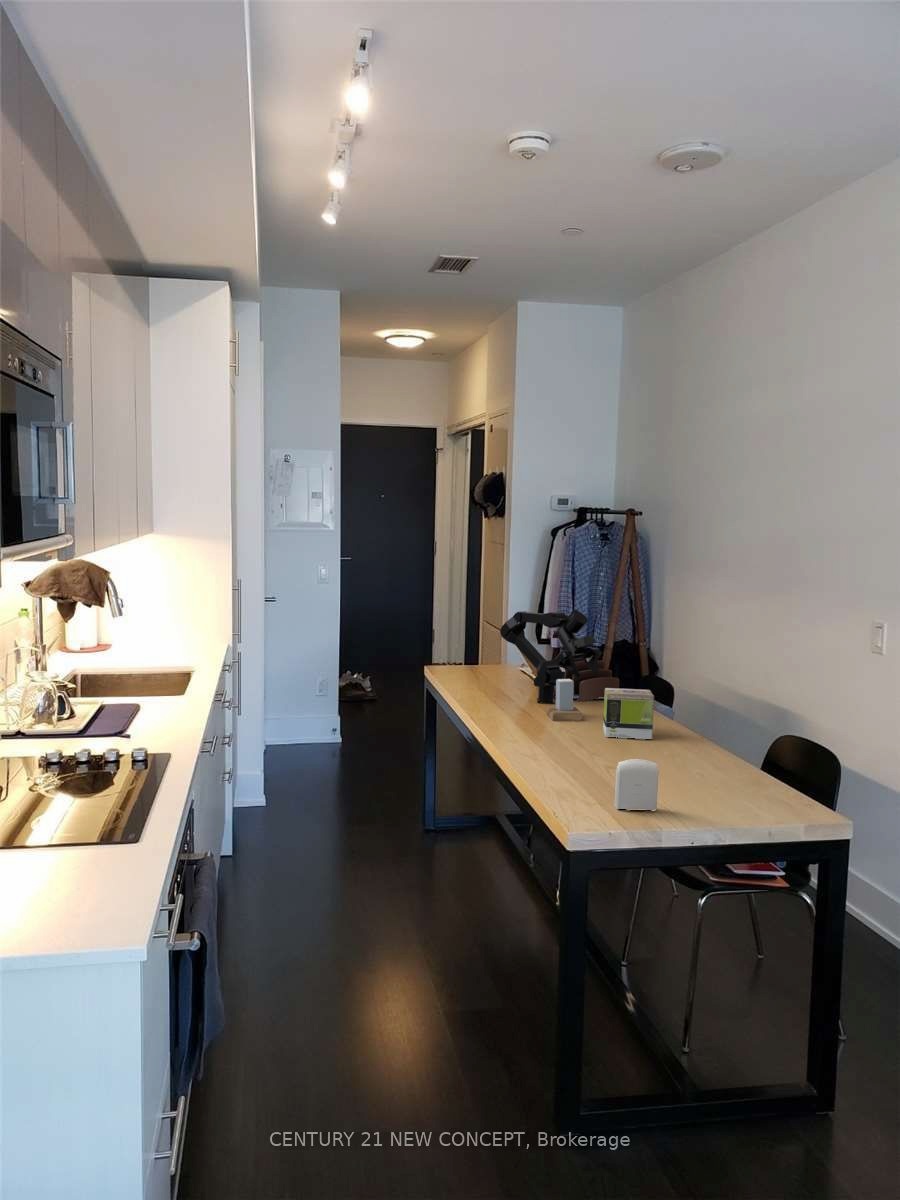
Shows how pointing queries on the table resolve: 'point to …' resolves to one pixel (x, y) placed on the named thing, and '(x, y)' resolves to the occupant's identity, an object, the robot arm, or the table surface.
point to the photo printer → (636, 785)
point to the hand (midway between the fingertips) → (589, 676)
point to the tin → (564, 694)
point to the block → (563, 714)
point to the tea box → (628, 713)
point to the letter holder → (591, 681)
